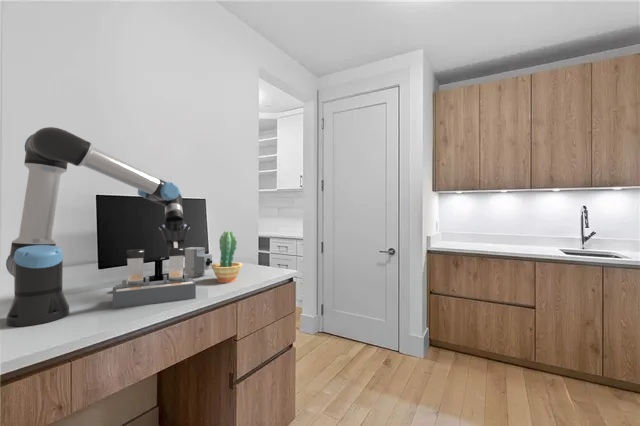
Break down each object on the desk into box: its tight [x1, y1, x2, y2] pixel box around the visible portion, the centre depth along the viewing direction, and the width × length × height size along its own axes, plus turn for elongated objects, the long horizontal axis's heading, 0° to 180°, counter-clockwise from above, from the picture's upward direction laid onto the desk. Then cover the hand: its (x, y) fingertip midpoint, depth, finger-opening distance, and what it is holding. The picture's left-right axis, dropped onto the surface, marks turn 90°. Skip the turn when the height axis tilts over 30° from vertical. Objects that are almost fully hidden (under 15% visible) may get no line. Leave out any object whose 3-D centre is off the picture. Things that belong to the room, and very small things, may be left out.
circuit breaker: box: [183, 246, 214, 278], centre depth 165 cm, size 8×14×15 cm, turn 78°
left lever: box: [125, 249, 145, 286], centre depth 115 cm, size 6×3×15 cm, turn 119°
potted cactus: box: [211, 230, 244, 283], centre depth 155 cm, size 15×16×25 cm
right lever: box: [168, 247, 186, 282], centre depth 122 cm, size 6×3×15 cm, turn 119°
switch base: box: [112, 273, 197, 310], centre depth 122 cm, size 28×12×9 cm, turn 119°
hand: (176, 255), depth 127 cm, fingers closed
